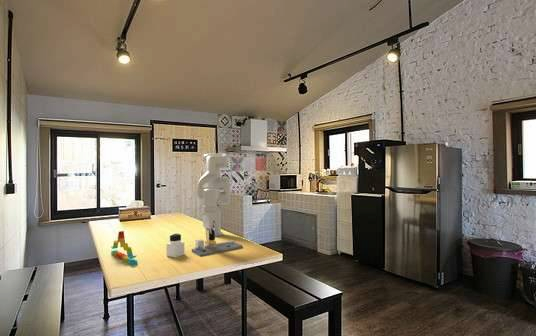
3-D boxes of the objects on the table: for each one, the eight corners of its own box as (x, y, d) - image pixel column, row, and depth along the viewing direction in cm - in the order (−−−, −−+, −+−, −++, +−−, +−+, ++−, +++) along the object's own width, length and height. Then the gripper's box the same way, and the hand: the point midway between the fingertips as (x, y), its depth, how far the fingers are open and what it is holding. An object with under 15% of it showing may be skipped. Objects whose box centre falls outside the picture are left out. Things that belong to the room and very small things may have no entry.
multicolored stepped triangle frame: (138, 264, 157) (137, 235, 157) (131, 265, 155) (131, 236, 155) (117, 253, 179) (116, 227, 179) (111, 254, 176) (110, 228, 176)
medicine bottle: (184, 254, 173) (184, 233, 173) (175, 257, 167) (174, 236, 167) (176, 252, 177) (175, 232, 177) (166, 256, 170) (166, 234, 170)
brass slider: (205, 245, 183) (204, 229, 183) (212, 244, 186) (212, 228, 186) (211, 249, 176) (211, 231, 176) (219, 247, 179) (218, 230, 179)
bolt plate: (191, 251, 178) (191, 240, 178) (232, 243, 195) (232, 233, 195) (200, 256, 169) (200, 244, 169) (242, 247, 186) (242, 237, 186)
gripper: (198, 208, 187) (198, 237, 187) (210, 211, 174) (211, 243, 174) (209, 207, 192) (209, 235, 192) (222, 210, 178) (222, 240, 179)
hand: (210, 238), depth 183 cm, fingers open, 4 cm apart
